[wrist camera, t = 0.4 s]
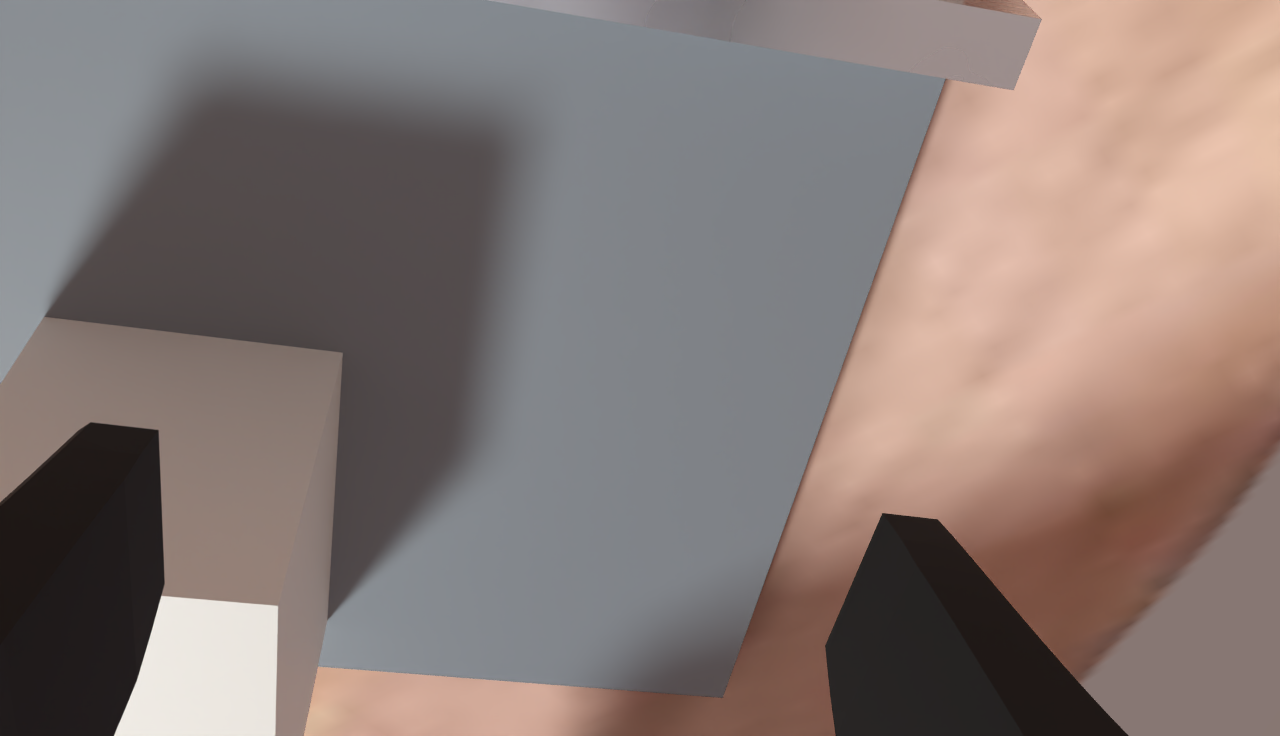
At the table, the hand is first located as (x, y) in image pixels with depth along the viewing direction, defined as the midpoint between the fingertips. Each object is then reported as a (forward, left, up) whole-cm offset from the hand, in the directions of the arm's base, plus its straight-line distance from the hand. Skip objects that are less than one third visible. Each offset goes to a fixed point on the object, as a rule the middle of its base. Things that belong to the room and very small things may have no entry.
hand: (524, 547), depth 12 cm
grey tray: (-4, +2, -10) cm, 11 cm away
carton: (-8, +5, -9) cm, 13 cm away
